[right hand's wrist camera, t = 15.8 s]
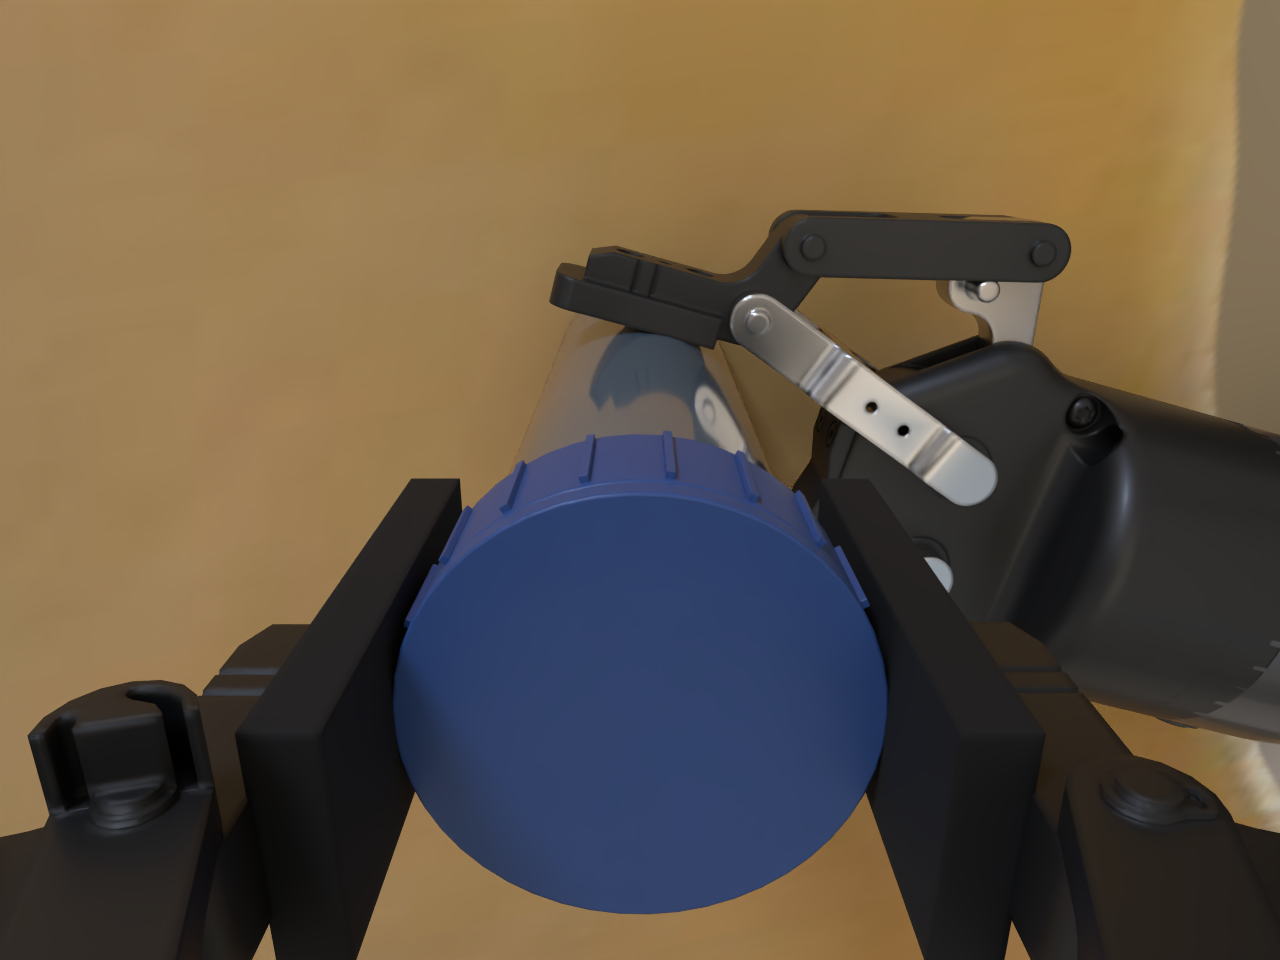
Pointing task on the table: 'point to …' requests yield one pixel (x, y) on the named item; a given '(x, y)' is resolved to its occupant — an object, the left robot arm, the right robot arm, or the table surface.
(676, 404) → the jar
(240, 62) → the table surface
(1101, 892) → the right robot arm
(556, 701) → the lid
